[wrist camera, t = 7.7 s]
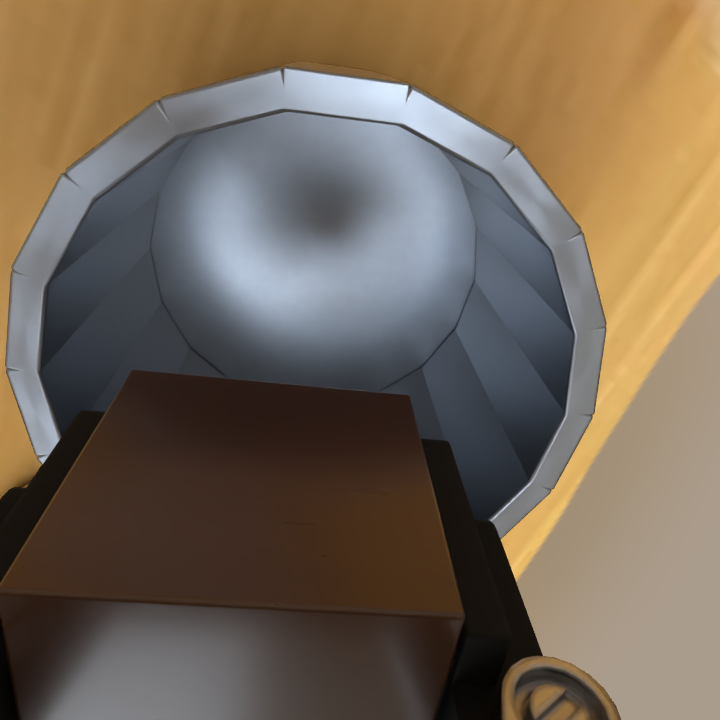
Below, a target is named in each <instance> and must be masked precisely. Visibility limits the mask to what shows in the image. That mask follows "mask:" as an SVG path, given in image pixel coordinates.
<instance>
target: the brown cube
mask: <svg viewBox="0 0 720 720" xmlns="http://www.w3.org/2000/svg"><path fill="white" fill-rule="evenodd" d="M0 620H1V626H2V632H3V638H4V643H5V649H6V655H7V661H8V666H9V672H10V678H11V684H12V689H13V695H14V701H15V707H16V712H17V718H18V720H435V718H436V715H437V712H438V708H439V705H440V701H441V698H442V695H443V691H444V688H445V684H446V681H447V678H448V674H449V671H450V667H451V664H452V661H453V657H454V654H455V650H456V647H457V644H458V640H459V637H460V633H461V630H462V627H463V623H464V620H465V612H464V608H463V604H462V600H461V596H460V592H459V588H458V584H457V580H456V576H455V572H454V568H453V564H452V560H451V557H450V553H449V549H448V545H447V541H446V537H445V533H444V529H443V525H442V521H441V517H440V513H439V509H438V505H437V501H436V497H435V493H434V489H433V485H432V482H431V478H430V474H429V470H428V466H427V462H426V458H425V454H424V450H423V446H422V442H421V438H420V434H419V430H418V426H417V422H416V418H415V414H414V411H413V407H412V403H411V399H410V396H409V395H403V394H392V393H382V392H371V391H360V390H349V389H338V388H327V387H316V386H305V385H295V384H284V383H273V382H262V381H251V380H240V379H229V378H218V377H207V376H197V375H186V374H175V373H164V372H153V371H142V370H132V371H131V372H130V373H129V375H128V377H127V378H126V380H125V382H124V383H123V385H122V386H121V388H120V390H119V391H118V393H117V394H116V396H115V398H114V399H113V401H112V403H111V404H110V406H109V407H108V409H107V411H106V412H105V414H104V416H103V417H102V419H101V420H100V422H99V424H98V425H97V427H96V429H95V430H94V432H93V433H92V435H91V437H90V438H89V440H88V442H87V443H86V445H85V446H84V448H83V450H82V451H81V453H80V455H79V456H78V458H77V459H76V461H75V463H74V464H73V466H72V468H71V469H70V471H69V472H68V474H67V476H66V477H65V479H64V481H63V482H62V484H61V485H60V487H59V489H58V490H57V492H56V494H55V495H54V497H53V498H52V500H51V502H50V503H49V505H48V507H47V508H46V510H45V511H44V513H43V515H42V516H41V518H40V520H39V521H38V523H37V524H36V526H35V528H34V529H33V531H32V533H31V534H30V536H29V537H28V539H27V541H26V542H25V544H24V545H23V547H22V549H21V550H20V552H19V554H18V555H17V557H16V558H15V560H14V562H13V563H12V565H11V567H10V568H9V570H8V571H7V573H6V575H5V576H4V578H3V580H2V581H1V583H0Z"/></svg>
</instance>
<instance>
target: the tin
mask: <svg viewBox="0 0 720 720" xmlns="http://www.w3.org/2000/svg"><path fill="white" fill-rule="evenodd" d="M605 336H606V319H605V315H604V311H603V308H602V304H601V300H600V296H599V292H598V288H597V284H596V280H595V276H594V272H593V268H592V264H591V260H590V257H589V253H588V249H587V245H586V241H585V237H584V233H583V232H582V231H581V227H580V226H579V225H578V223H577V222H576V221H575V220H574V218H573V217H572V216H571V214H570V213H569V212H568V210H567V209H566V208H565V206H564V205H563V204H562V203H561V201H560V200H559V199H558V197H557V196H556V195H555V193H554V192H553V191H552V190H551V188H550V187H549V186H548V184H547V183H546V182H545V180H544V179H543V178H542V176H541V175H540V174H539V173H538V171H537V170H536V169H535V167H534V166H533V165H532V163H531V162H530V161H529V160H528V158H527V157H526V156H525V154H524V153H523V152H522V150H521V149H520V148H519V147H518V146H517V145H514V143H513V142H512V141H511V140H509V139H507V138H506V137H504V136H502V135H500V134H499V133H497V132H495V131H493V130H492V129H490V128H488V127H487V126H485V125H483V124H481V123H480V122H478V121H476V120H474V119H473V118H471V117H469V116H467V115H466V114H464V113H462V112H460V111H459V110H457V109H455V108H453V107H452V106H450V105H448V104H446V103H445V102H443V101H441V100H439V99H438V98H436V97H434V96H432V95H431V94H429V93H427V92H425V91H424V90H422V89H420V88H418V87H417V86H415V85H412V84H409V83H407V82H404V81H401V80H398V79H395V78H392V77H389V76H386V75H383V74H380V73H377V72H374V71H371V70H363V69H356V68H349V67H342V66H336V65H327V64H320V63H312V62H305V61H300V62H293V63H289V64H285V65H281V66H277V67H274V68H270V69H266V70H262V71H258V72H254V73H250V74H246V75H242V76H239V77H235V78H231V79H227V80H223V81H220V82H216V83H212V84H208V85H205V86H201V87H197V88H193V89H190V90H186V91H182V92H178V93H175V94H171V95H167V96H163V97H161V98H160V99H159V100H156V101H153V102H152V103H151V104H149V105H148V106H147V107H145V108H144V109H143V110H142V111H140V112H139V113H138V114H136V115H135V116H134V117H132V118H131V119H130V120H129V121H127V122H126V123H125V124H123V125H122V126H121V127H119V128H118V129H117V130H116V131H114V132H113V133H112V134H110V135H109V136H108V137H106V138H105V139H104V140H103V141H101V142H100V143H99V144H97V145H96V146H95V147H93V148H92V149H91V150H90V151H88V152H87V153H86V154H84V155H83V156H82V157H80V158H79V159H78V160H77V161H75V162H74V163H73V164H71V165H70V166H69V167H67V168H66V170H65V172H64V173H62V174H60V176H59V178H58V180H57V182H56V184H55V186H54V187H53V189H52V191H51V193H50V195H49V197H48V199H47V201H46V202H45V204H44V206H43V208H42V210H41V212H40V214H39V216H38V217H37V219H36V221H35V223H34V225H33V227H32V229H31V231H30V232H29V234H28V236H27V238H26V240H25V242H24V244H23V246H22V247H21V249H20V251H19V253H18V255H17V257H16V259H15V261H14V262H13V264H12V271H11V277H10V294H9V310H8V326H7V343H6V359H5V366H6V367H7V369H6V373H7V376H8V379H9V382H10V384H11V387H12V390H13V393H14V396H15V399H16V401H17V404H18V407H19V410H20V413H21V415H22V418H23V421H24V424H25V427H26V430H27V432H28V435H29V438H30V441H31V444H32V447H33V449H34V452H35V454H36V455H37V459H38V460H39V462H40V463H41V464H42V465H43V463H44V462H45V460H46V459H47V457H48V456H49V454H50V453H51V452H52V450H53V449H54V447H55V446H56V444H57V443H58V441H59V440H60V439H61V437H62V436H63V434H64V433H65V431H66V430H67V428H68V427H69V426H70V424H71V423H72V421H73V420H74V418H75V417H76V415H77V414H78V413H79V412H80V411H81V410H89V411H101V412H106V411H107V409H108V407H109V406H110V404H111V403H112V401H113V399H114V398H115V396H116V394H117V393H118V391H119V390H120V388H121V386H122V385H123V383H124V382H125V380H126V378H127V377H128V375H129V373H130V372H131V371H132V370H142V371H153V372H164V373H175V374H186V375H197V376H207V377H218V378H229V379H240V380H251V381H262V382H273V383H284V384H295V385H305V386H316V387H327V388H338V389H349V390H360V391H371V392H382V393H392V394H403V395H409V396H410V399H411V403H412V407H413V411H414V414H415V418H416V422H417V426H418V430H419V434H420V438H421V439H432V440H444V441H448V442H449V443H450V446H451V449H452V452H453V455H454V458H455V461H456V464H457V467H458V470H459V474H460V477H461V480H462V483H463V486H464V489H465V492H466V495H467V498H468V501H469V504H470V508H471V511H472V514H473V517H474V519H477V520H490V521H491V522H492V523H494V525H495V527H496V529H497V531H498V534H499V537H500V539H501V538H502V537H504V536H505V535H506V534H507V533H508V532H509V531H510V530H511V529H512V528H513V527H514V526H515V525H516V524H517V523H519V522H520V521H521V520H522V519H523V518H524V517H525V516H526V515H527V514H528V513H529V512H530V511H531V510H532V509H534V508H535V507H536V506H537V505H538V504H539V503H540V502H541V501H542V500H543V499H544V498H545V497H546V496H547V495H549V494H550V492H551V489H554V487H555V486H556V484H557V482H558V480H559V478H560V476H561V475H562V473H563V471H564V469H565V467H566V465H567V464H568V462H569V460H570V458H571V456H572V454H573V453H574V451H575V449H576V447H577V445H578V444H579V442H580V440H581V438H582V436H583V434H584V433H585V431H586V429H587V427H588V425H589V423H590V422H591V420H592V417H593V416H592V415H593V414H594V413H595V406H596V399H597V392H598V385H599V378H600V371H601V364H602V357H603V350H604V343H605Z"/></svg>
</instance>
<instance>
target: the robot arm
mask: <svg viewBox="0 0 720 720" xmlns="http://www.w3.org/2000/svg"><path fill="white" fill-rule="evenodd" d="M104 414H105V412H101V411H89V410H81V411H80V412H79V413H78V414H77V415H76V417H75V418H74V420H73V421H72V423H71V424H70V426H69V427H68V428H67V430H66V431H65V433H64V434H63V436H62V437H61V439H60V440H59V441H58V443H57V444H56V446H55V447H54V449H53V450H52V452H51V453H50V454H49V456H48V457H47V459H46V460H45V462H44V463H43V465H42V466H41V467H40V469H39V470H38V472H37V473H36V475H35V476H34V478H33V479H32V480H31V482H30V483H29V485H28V486H27V488H25V487H14V488H12V489H9V491H8V492H7V493H6V494H5V495H4V496H3V497H2V498H1V500H0V583H1V581H2V580H3V578H4V576H5V575H6V573H7V571H8V570H9V568H10V567H11V565H12V563H13V562H14V560H15V558H16V557H17V555H18V554H19V552H20V550H21V549H22V547H23V545H24V544H25V542H26V541H27V539H28V537H29V536H30V534H31V533H32V531H33V529H34V528H35V526H36V524H37V523H38V521H39V520H40V518H41V516H42V515H43V513H44V511H45V510H46V508H47V507H48V505H49V503H50V502H51V500H52V498H53V497H54V495H55V494H56V492H57V490H58V489H59V487H60V485H61V484H62V482H63V481H64V479H65V477H66V476H67V474H68V472H69V471H70V469H71V468H72V466H73V464H74V463H75V461H76V459H77V458H78V456H79V455H80V453H81V451H82V450H83V448H84V446H85V445H86V443H87V442H88V440H89V438H90V437H91V435H92V433H93V432H94V430H95V429H96V427H97V425H98V424H99V422H100V420H101V419H102V417H103V416H104ZM421 442H422V446H423V450H424V454H425V458H426V462H427V466H428V470H429V474H430V478H431V482H432V485H433V489H434V493H435V497H436V501H437V505H438V509H439V513H440V517H441V521H442V525H443V529H444V533H445V537H446V541H447V545H448V549H449V553H450V557H451V560H452V564H453V568H454V572H455V576H456V580H457V584H458V588H459V592H460V596H461V600H462V604H463V608H464V612H465V620H464V623H463V627H462V630H461V633H460V637H459V640H458V644H457V647H456V650H455V654H454V657H453V661H452V664H451V667H450V671H449V674H448V678H447V681H446V684H445V688H444V691H443V695H442V698H441V701H440V705H439V708H438V712H437V715H436V718H435V720H621V718H620V715H619V713H618V710H617V707H616V705H615V704H614V702H613V701H612V699H611V698H610V696H609V695H608V694H607V692H606V691H605V689H604V688H603V687H602V686H601V685H600V684H598V682H597V681H595V680H594V679H593V678H592V677H591V676H590V675H589V674H587V673H586V672H584V671H583V670H581V669H579V668H578V667H576V666H575V665H573V664H571V663H568V662H566V661H563V660H560V659H557V658H555V657H546V656H543V655H542V653H541V650H540V647H539V644H538V642H537V638H536V636H535V633H534V630H533V627H532V625H531V622H530V619H529V617H528V614H527V611H526V608H525V606H524V603H523V600H522V598H521V595H520V592H519V589H518V586H517V584H516V581H515V578H514V575H513V573H512V570H511V567H510V564H509V562H508V559H507V556H506V553H505V551H504V548H503V545H502V542H501V540H500V537H499V534H498V531H497V529H496V527H495V525H494V523H492V522H491V521H490V520H477V519H474V517H473V514H472V511H471V508H470V504H469V501H468V498H467V495H466V492H465V489H464V486H463V483H462V480H461V477H460V474H459V470H458V467H457V464H456V461H455V458H454V455H453V452H452V449H451V446H450V443H449V442H448V441H444V440H432V439H421ZM0 720H18V718H17V712H16V707H15V701H14V695H13V689H12V684H11V678H10V672H9V666H8V661H7V655H6V649H5V643H4V638H3V632H2V626H1V620H0Z"/></svg>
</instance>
